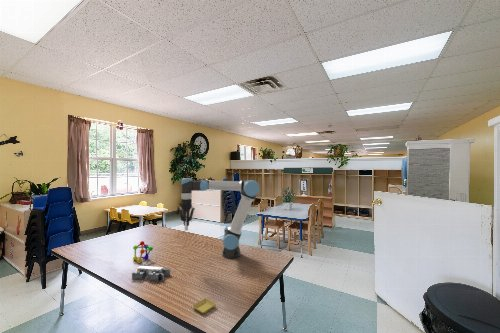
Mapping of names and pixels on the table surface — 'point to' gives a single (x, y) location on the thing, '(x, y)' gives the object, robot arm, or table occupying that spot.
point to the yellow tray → (204, 305)
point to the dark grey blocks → (151, 275)
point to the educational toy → (142, 252)
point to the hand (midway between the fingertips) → (186, 230)
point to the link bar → (150, 270)
